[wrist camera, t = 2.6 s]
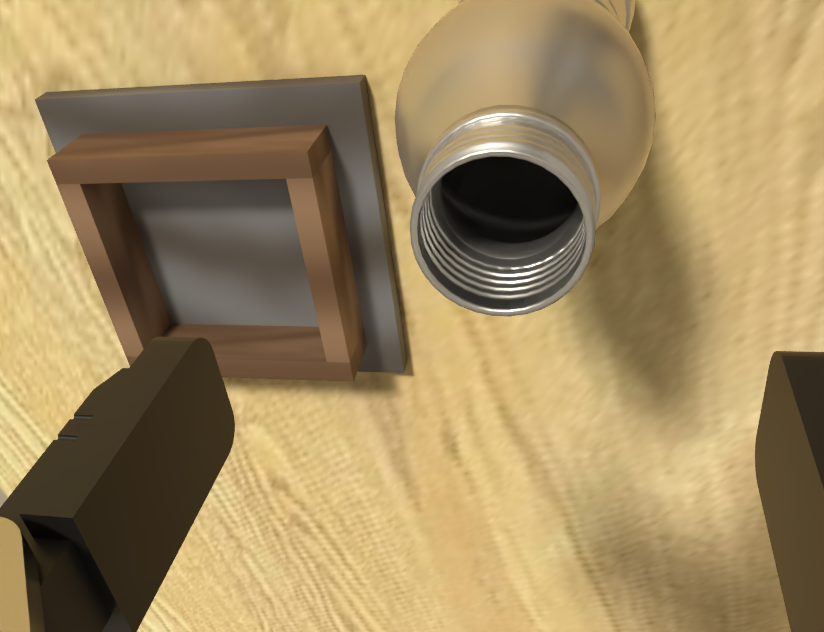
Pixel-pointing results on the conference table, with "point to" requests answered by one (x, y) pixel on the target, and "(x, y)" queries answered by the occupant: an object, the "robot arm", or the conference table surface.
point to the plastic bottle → (520, 145)
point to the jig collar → (235, 221)
